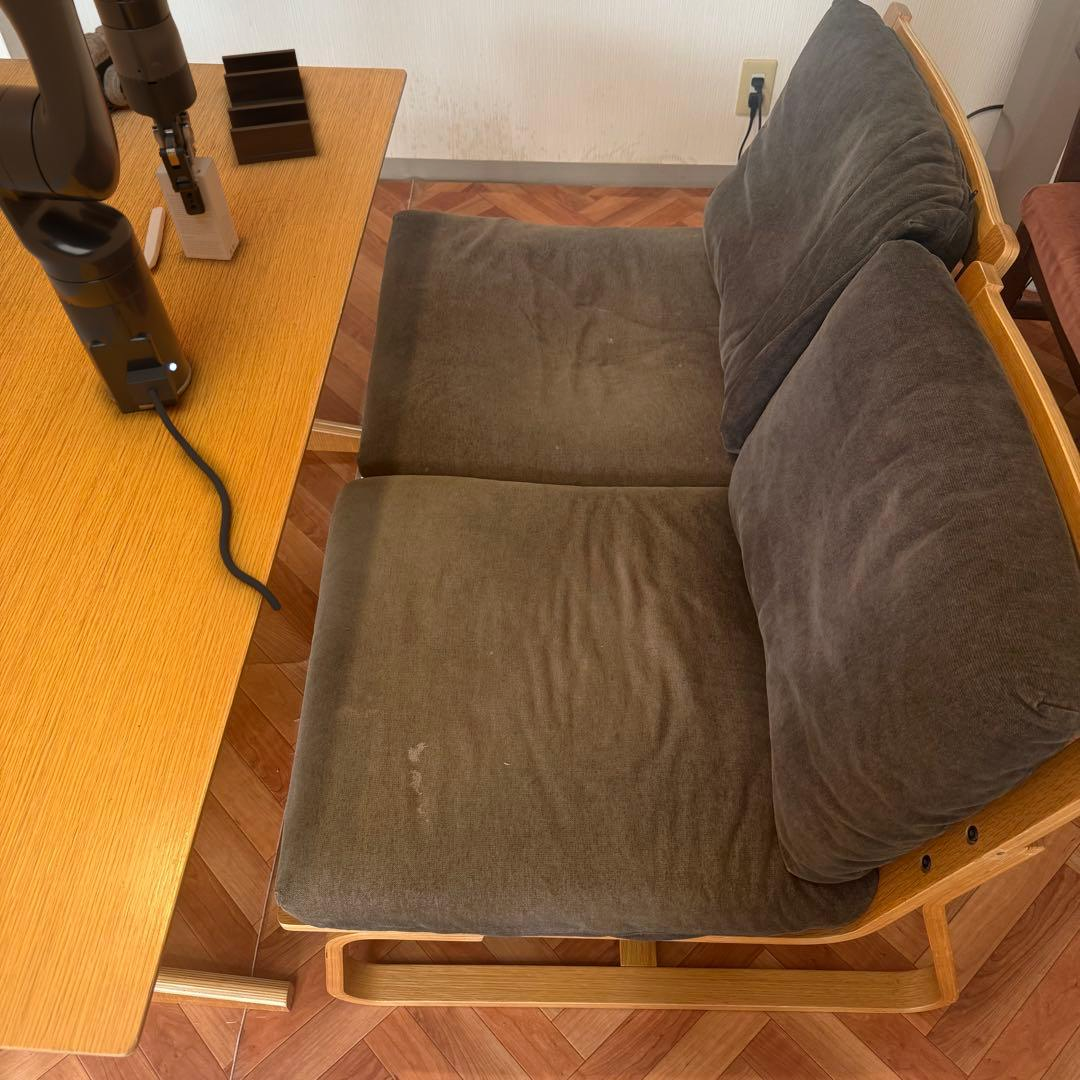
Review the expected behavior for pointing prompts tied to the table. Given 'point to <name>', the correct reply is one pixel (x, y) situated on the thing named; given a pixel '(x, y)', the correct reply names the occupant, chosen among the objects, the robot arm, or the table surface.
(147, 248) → the pen
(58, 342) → the table surface
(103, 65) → the camera
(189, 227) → the cosmetic box
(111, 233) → the robot arm
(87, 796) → the table surface
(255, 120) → the rack
